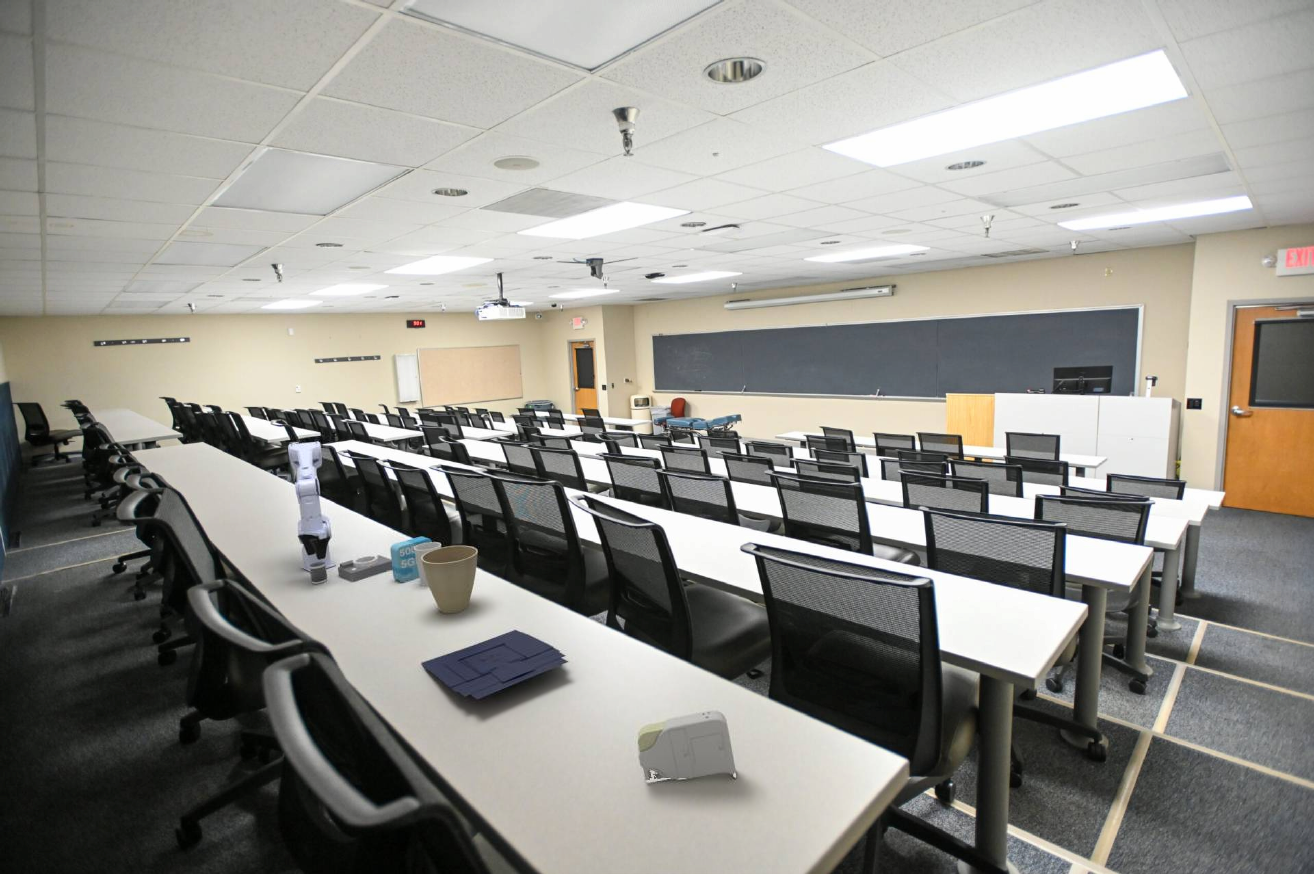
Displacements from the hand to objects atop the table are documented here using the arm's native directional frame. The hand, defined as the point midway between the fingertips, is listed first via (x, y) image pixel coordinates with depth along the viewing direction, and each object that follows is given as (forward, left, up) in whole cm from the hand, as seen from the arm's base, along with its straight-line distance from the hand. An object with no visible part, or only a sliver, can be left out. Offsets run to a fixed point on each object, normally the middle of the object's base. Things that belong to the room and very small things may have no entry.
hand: (316, 556), depth 193 cm
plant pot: (+57, +13, -9) cm, 59 cm away
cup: (+33, +20, -9) cm, 39 cm away
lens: (0, 0, -8) cm, 9 cm away
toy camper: (+150, -4, -9) cm, 150 cm away
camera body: (+5, +13, -8) cm, 16 cm away
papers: (+95, -1, -9) cm, 96 cm away
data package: (+23, +20, -9) cm, 32 cm away
